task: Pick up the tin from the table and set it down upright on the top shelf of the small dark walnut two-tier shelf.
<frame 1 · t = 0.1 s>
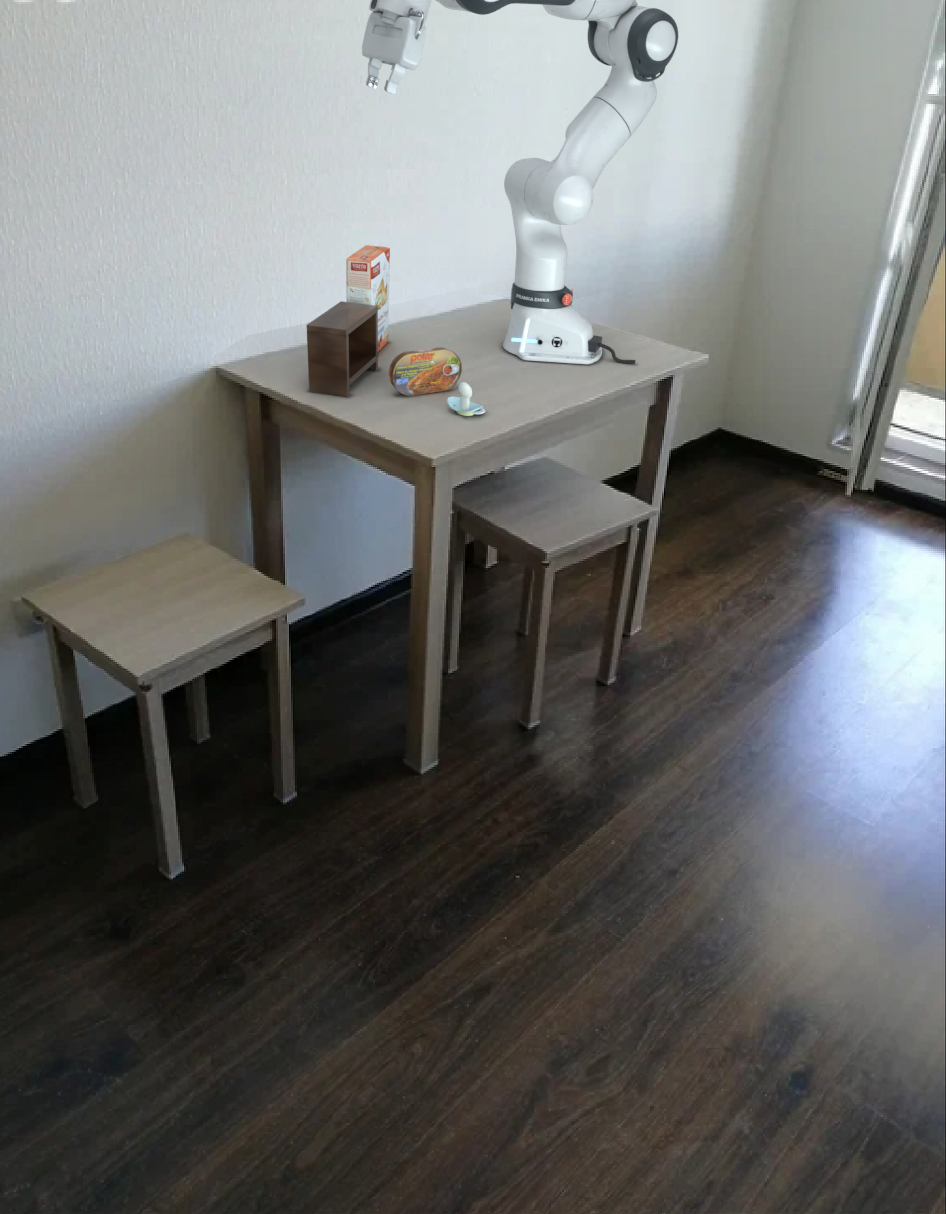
hand: (379, 89, 182), 52 cm above the table, tool tilted 20°, fingers open, 8 cm apart
pacifier: (467, 413, 189), on the table
shelf: (344, 379, 200), on the table
tin: (424, 392, 197), on the table
cracker box: (368, 351, 217), on the table
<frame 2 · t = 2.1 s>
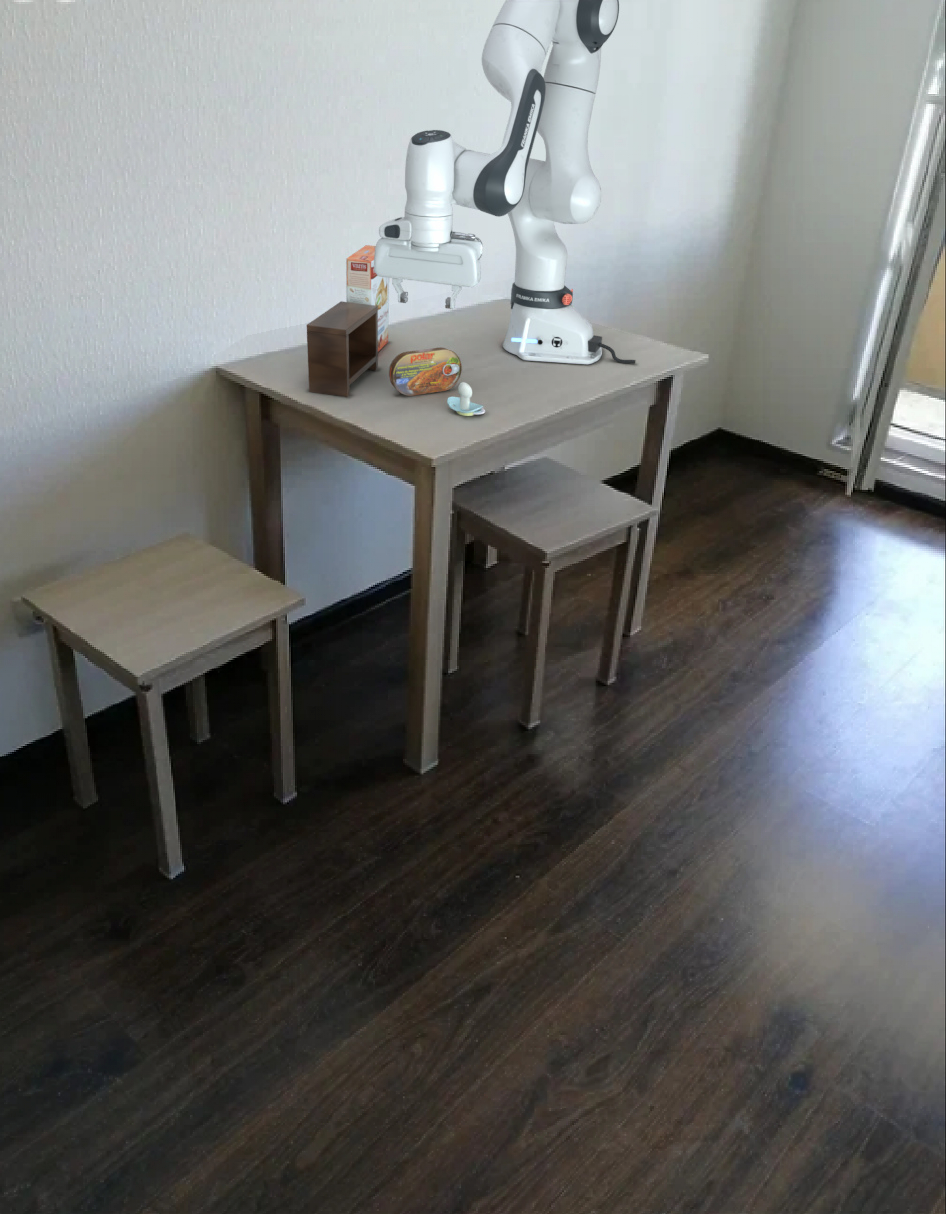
hand: (426, 305, 188), 17 cm above the table, tool pointing down, fingers open, 8 cm apart
nothing on the table moved.
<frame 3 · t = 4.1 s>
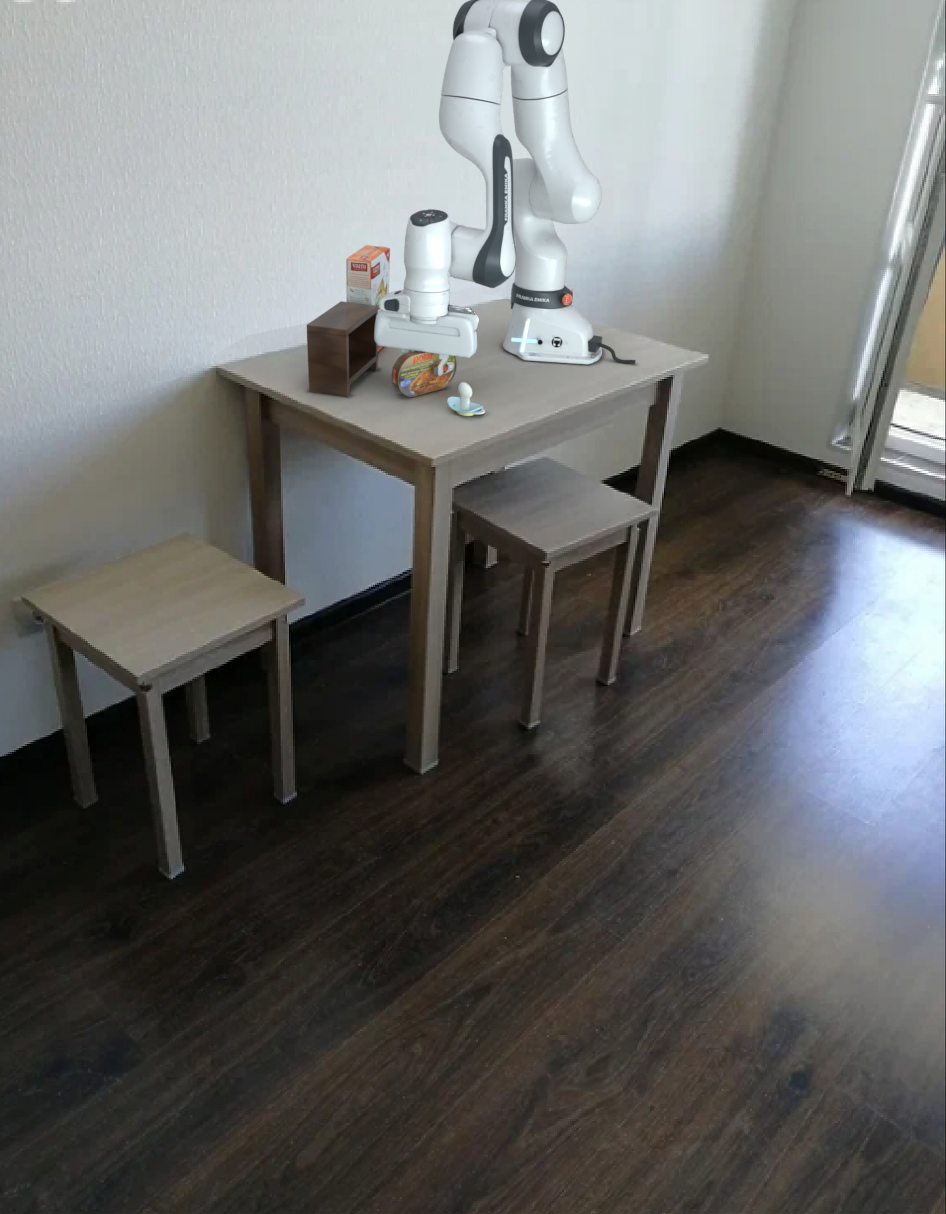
hand: (424, 372, 195), 4 cm above the table, tool pointing down, fingers closed on tin, 4 cm apart
tin: (422, 391, 197), on the table, touching gripper
everything else where it was.
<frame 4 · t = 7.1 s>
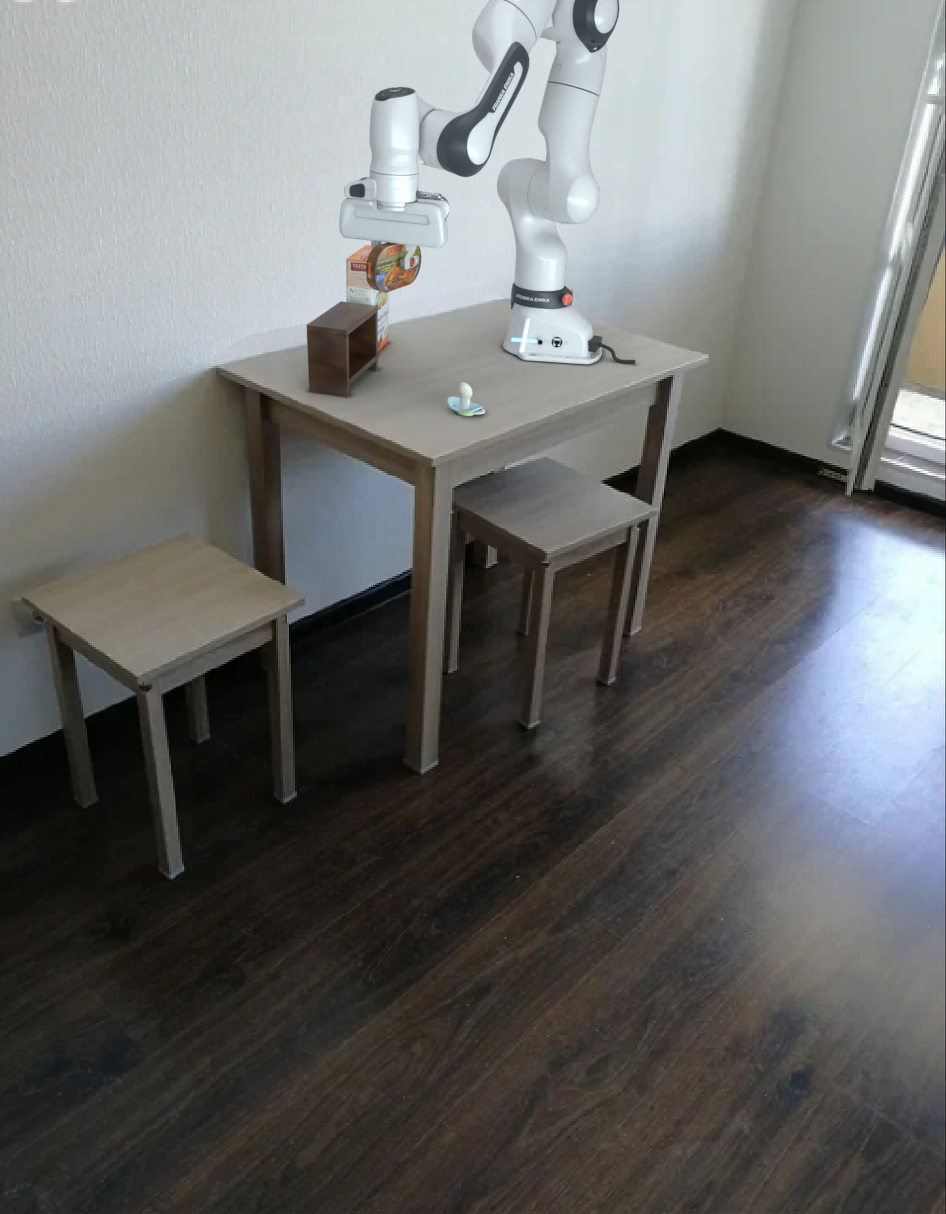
hand: (393, 267, 186), 23 cm above the table, tool pointing down, fingers closed on tin, 3 cm apart
tin: (391, 287, 188), point 20 cm above the table, touching gripper
everything else where it was.
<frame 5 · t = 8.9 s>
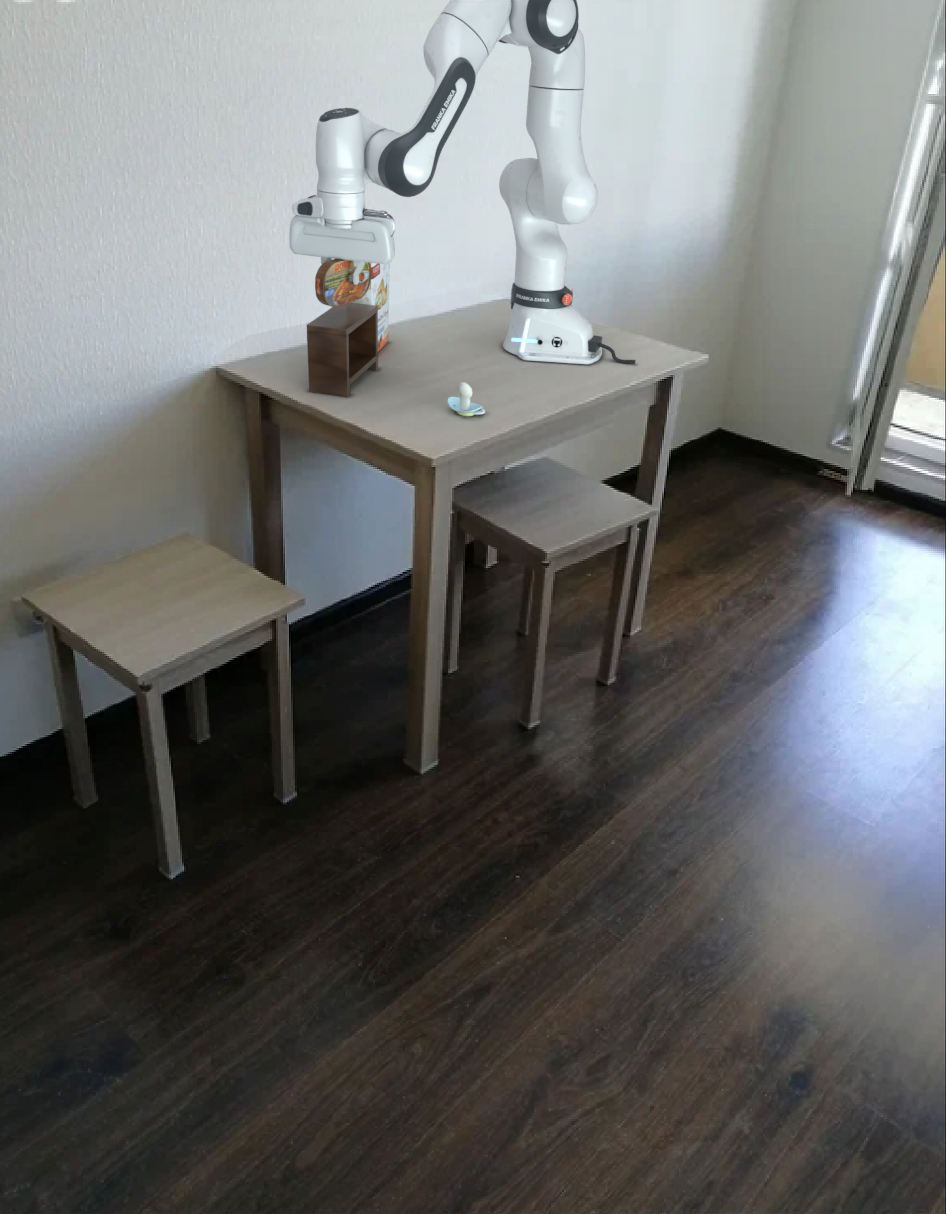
hand: (343, 282, 190), 19 cm above the table, tool pointing down, fingers closed on tin, 3 cm apart
tin: (342, 302, 192), point 16 cm above the table, touching gripper
everything else where it was.
when the fingers open (17 cm above the table, at t = 10.0 s): tin stays where it is, resting on shelf.
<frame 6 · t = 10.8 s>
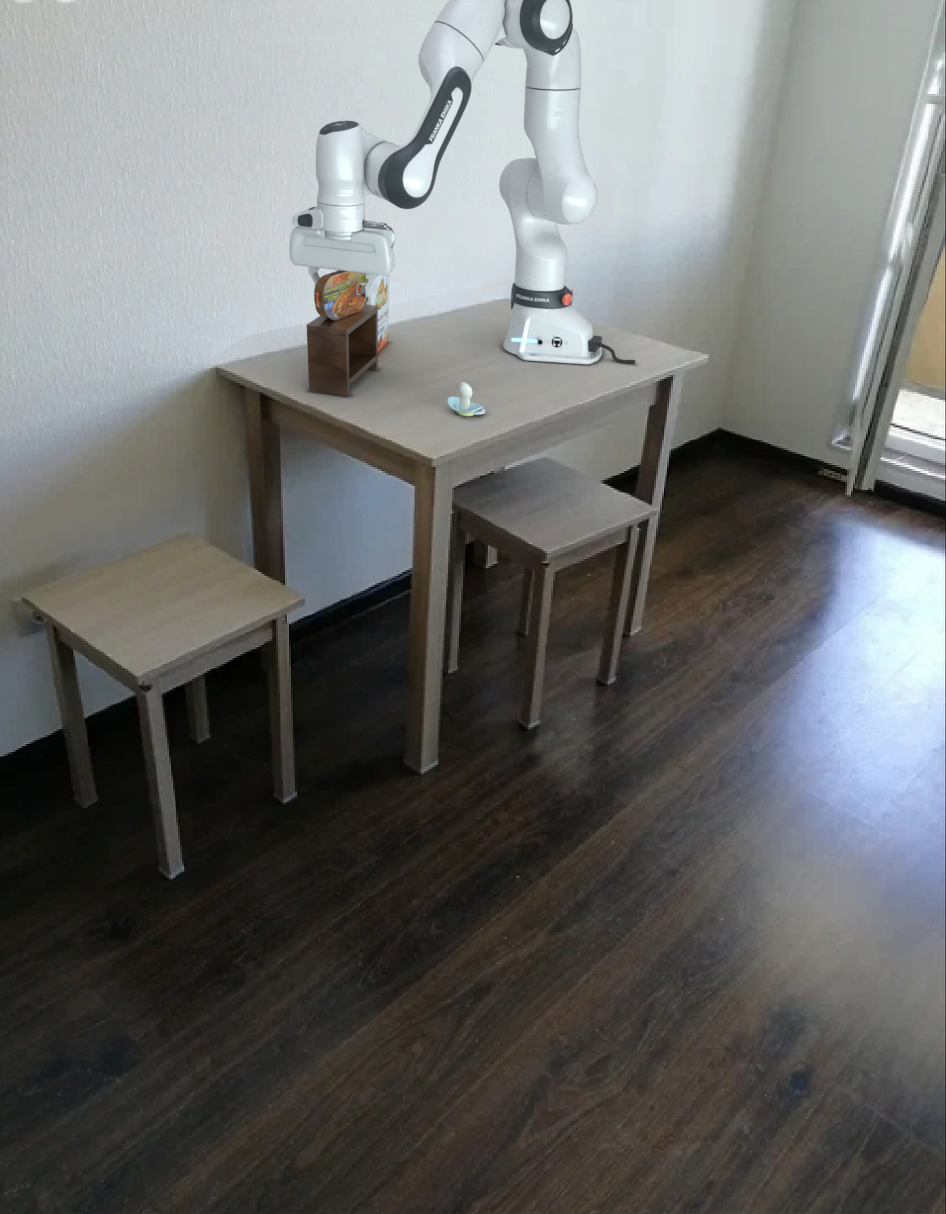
hand: (342, 293, 191), 17 cm above the table, tool pointing down, fingers open, 8 cm apart
tin: (342, 315, 194), point 13 cm above the table, touching shelf
everything else where it was.
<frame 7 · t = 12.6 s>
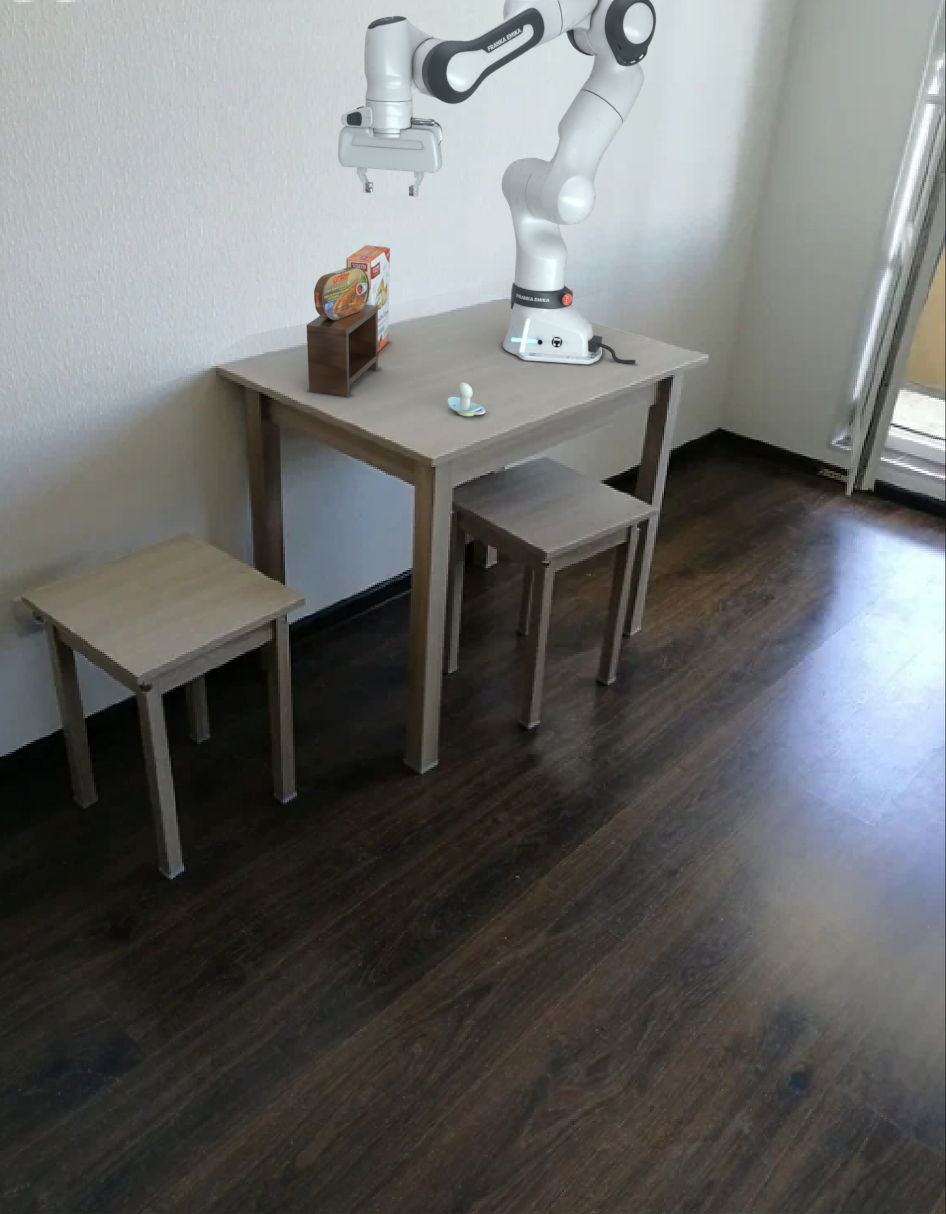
hand: (390, 194, 194), 34 cm above the table, tool pointing down, fingers open, 8 cm apart
nothing on the table moved.
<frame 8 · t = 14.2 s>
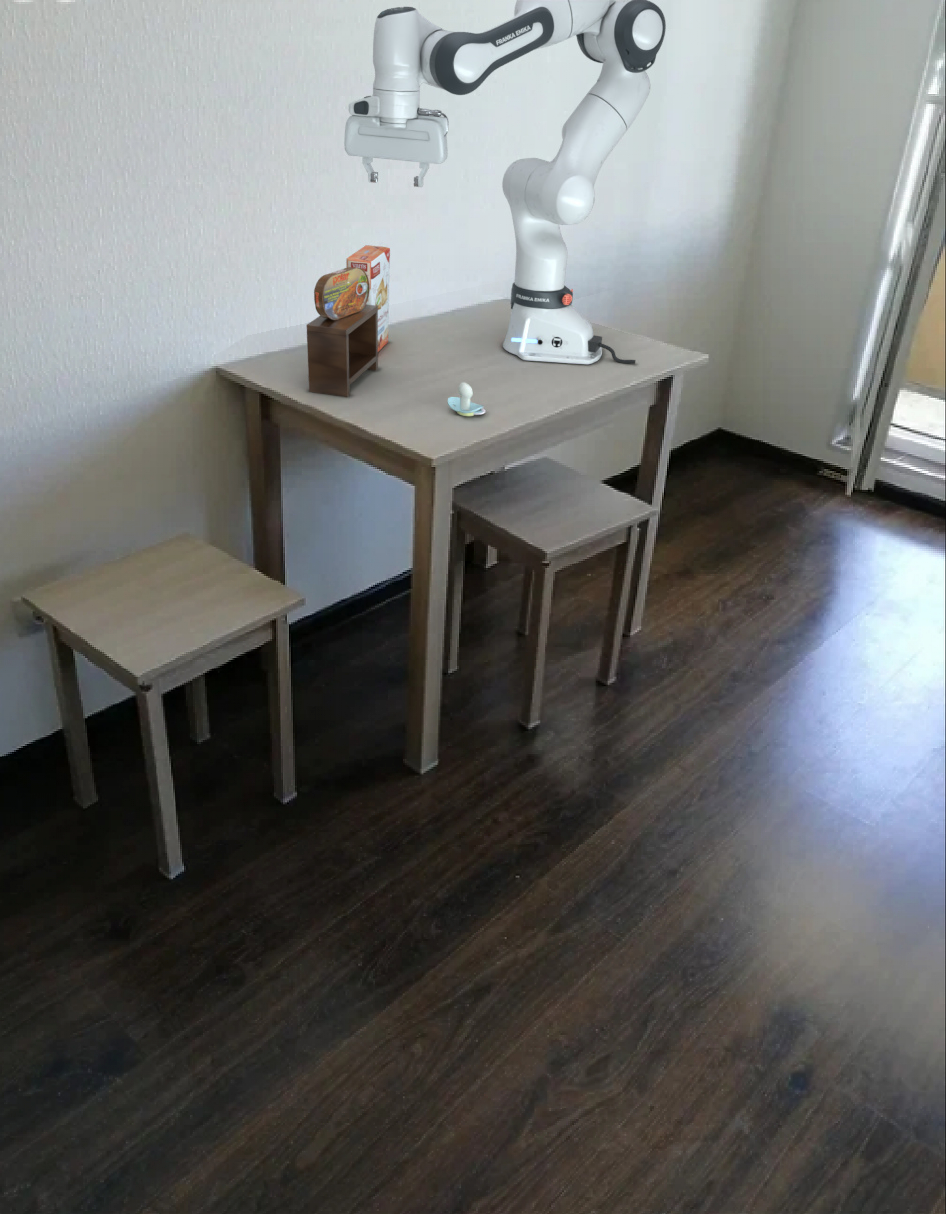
hand: (395, 184, 195), 35 cm above the table, tool pointing down, fingers open, 8 cm apart
nothing on the table moved.
at the end: tin inside the target area on the shelf (0.4 cm from its centre), point 13.0 cm above the shelf's base; tin tilted 0°; tin touching shelf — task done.
